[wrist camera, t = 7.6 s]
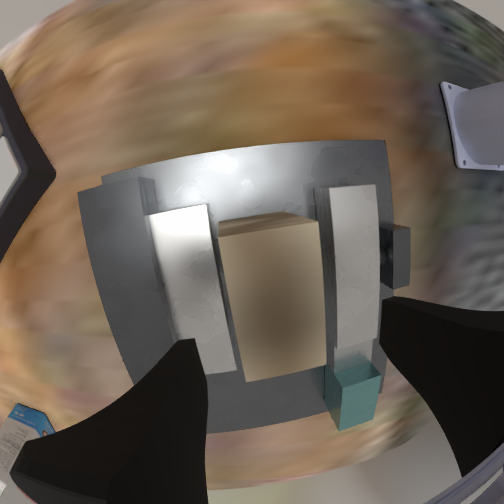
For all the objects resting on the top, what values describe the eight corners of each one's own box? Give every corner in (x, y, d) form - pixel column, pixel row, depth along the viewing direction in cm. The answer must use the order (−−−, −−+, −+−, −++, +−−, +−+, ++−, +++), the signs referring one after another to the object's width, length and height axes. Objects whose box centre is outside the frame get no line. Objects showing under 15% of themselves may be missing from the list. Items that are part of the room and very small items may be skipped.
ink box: (15, 401, 18) (-36, 480, 3) (45, 412, 18) (-4, 506, 4) (42, 445, 20) (9, 520, 5) (71, 456, 20) (42, 539, 6)
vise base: (382, 140, 16) (415, 133, 13) (380, 390, 21) (398, 414, 18) (103, 176, 15) (75, 173, 11) (181, 433, 20) (178, 464, 16)
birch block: (284, 211, 16) (318, 221, 11) (295, 314, 18) (326, 364, 12) (218, 221, 16) (217, 237, 10) (237, 325, 18) (246, 382, 12)
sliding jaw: (355, 184, 17) (386, 184, 13) (355, 392, 21) (373, 418, 17) (313, 188, 16) (338, 188, 13) (324, 402, 20) (338, 431, 17)
